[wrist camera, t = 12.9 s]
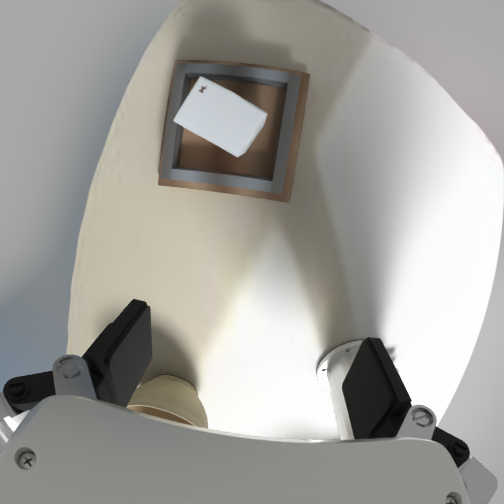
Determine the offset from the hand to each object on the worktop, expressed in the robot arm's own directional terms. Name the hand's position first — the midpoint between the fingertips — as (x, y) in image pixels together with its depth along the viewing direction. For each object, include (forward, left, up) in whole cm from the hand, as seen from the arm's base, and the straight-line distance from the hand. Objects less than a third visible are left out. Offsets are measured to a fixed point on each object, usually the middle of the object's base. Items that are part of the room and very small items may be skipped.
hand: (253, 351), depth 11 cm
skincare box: (+4, -10, -24) cm, 26 cm away
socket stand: (+5, -10, -25) cm, 27 cm away
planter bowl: (+11, +36, -25) cm, 45 cm away
